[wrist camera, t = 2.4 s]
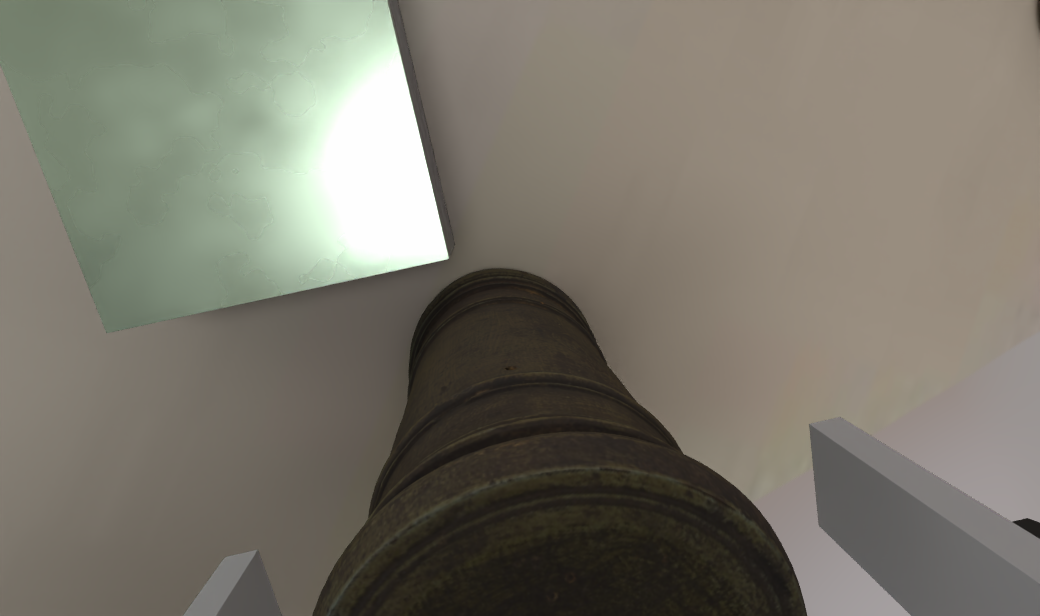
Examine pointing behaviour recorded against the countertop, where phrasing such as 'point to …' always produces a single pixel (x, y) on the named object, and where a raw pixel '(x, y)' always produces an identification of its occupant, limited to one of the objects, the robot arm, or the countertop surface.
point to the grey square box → (226, 146)
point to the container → (545, 484)
